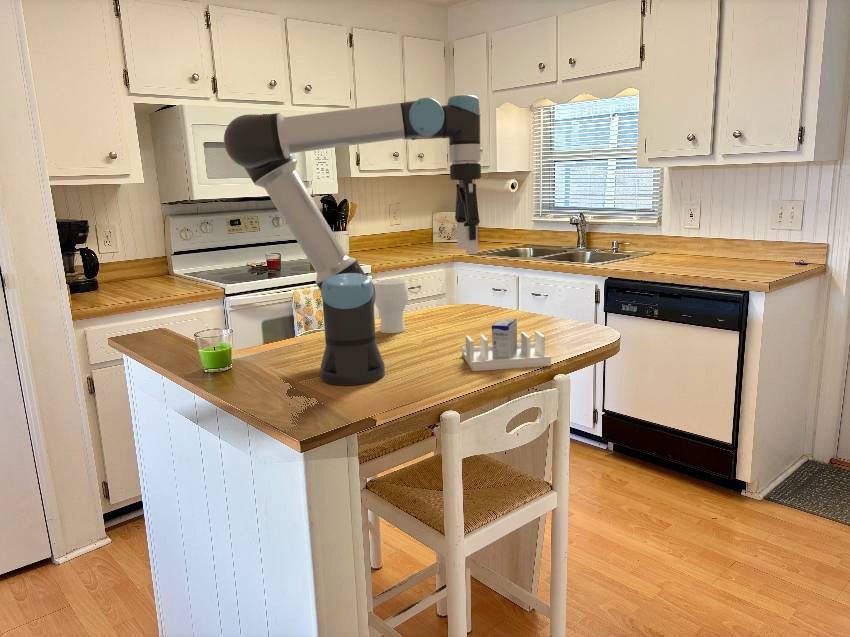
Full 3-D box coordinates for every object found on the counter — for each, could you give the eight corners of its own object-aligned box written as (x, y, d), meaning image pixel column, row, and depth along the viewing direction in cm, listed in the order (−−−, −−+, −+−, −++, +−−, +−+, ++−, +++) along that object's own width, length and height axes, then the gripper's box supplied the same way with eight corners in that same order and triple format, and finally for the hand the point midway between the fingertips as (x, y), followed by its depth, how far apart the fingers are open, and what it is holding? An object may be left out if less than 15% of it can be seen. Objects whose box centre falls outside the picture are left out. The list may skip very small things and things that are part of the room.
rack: (472, 371, 150) (471, 345, 148) (462, 355, 163) (461, 331, 162) (550, 365, 152) (551, 340, 150) (534, 350, 165) (534, 327, 164)
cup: (416, 328, 194) (414, 279, 191) (396, 336, 186) (394, 285, 182) (388, 325, 200) (386, 278, 197) (367, 332, 191) (364, 283, 188)
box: (500, 350, 162) (499, 317, 160) (517, 351, 160) (517, 318, 158) (491, 359, 155) (491, 324, 153) (510, 360, 153) (509, 325, 151)
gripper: (491, 161, 142) (492, 255, 147) (471, 163, 167) (473, 244, 171) (458, 162, 142) (460, 257, 146) (442, 164, 166) (445, 246, 170)
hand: (467, 250), depth 159 cm, fingers open, 13 cm apart
